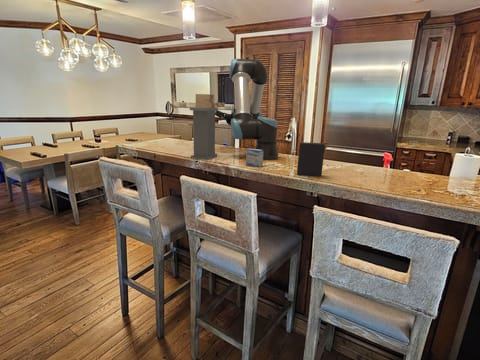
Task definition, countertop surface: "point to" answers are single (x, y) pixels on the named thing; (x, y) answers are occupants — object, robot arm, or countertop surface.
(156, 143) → the countertop surface
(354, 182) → the countertop surface
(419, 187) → the countertop surface
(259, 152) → the medicine box
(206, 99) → the mallet
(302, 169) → the dark upright panel
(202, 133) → the grey tall block
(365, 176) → the countertop surface
